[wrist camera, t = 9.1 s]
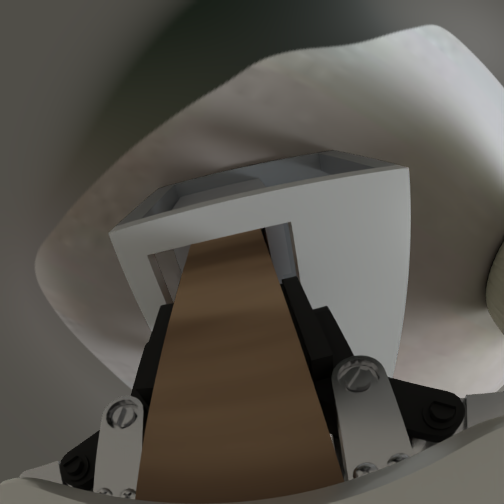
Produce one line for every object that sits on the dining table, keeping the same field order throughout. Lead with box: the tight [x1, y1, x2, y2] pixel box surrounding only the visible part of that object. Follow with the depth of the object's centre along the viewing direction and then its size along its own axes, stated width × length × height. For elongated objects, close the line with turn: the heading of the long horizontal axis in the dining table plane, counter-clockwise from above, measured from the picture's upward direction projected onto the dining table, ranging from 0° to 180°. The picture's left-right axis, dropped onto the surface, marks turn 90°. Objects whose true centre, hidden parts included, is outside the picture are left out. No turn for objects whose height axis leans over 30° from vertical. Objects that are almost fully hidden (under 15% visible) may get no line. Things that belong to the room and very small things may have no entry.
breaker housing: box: [108, 150, 411, 378], centre depth 17 cm, size 16×12×9 cm
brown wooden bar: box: [135, 229, 344, 504], centre depth 8 cm, size 3×3×14 cm
